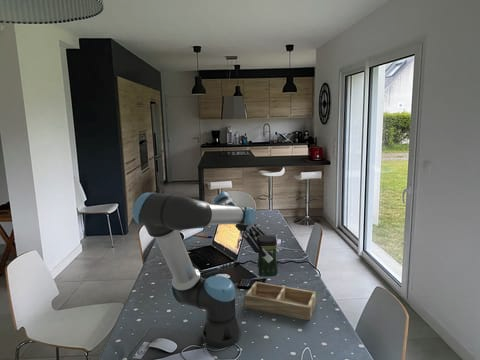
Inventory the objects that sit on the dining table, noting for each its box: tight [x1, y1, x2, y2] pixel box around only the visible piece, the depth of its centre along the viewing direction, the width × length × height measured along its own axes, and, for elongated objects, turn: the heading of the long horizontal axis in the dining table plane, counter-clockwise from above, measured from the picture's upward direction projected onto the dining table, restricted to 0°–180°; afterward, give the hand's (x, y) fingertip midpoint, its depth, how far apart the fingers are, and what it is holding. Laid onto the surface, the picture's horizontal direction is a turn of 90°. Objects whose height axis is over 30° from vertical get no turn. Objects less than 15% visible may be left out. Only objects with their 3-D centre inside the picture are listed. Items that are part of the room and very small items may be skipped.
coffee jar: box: [256, 234, 279, 278], centre depth 164 cm, size 10×8×19 cm
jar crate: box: [244, 281, 317, 321], centre depth 164 cm, size 14×30×6 cm, turn 68°
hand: (273, 257), depth 163 cm, fingers closed on coffee jar, 8 cm apart
